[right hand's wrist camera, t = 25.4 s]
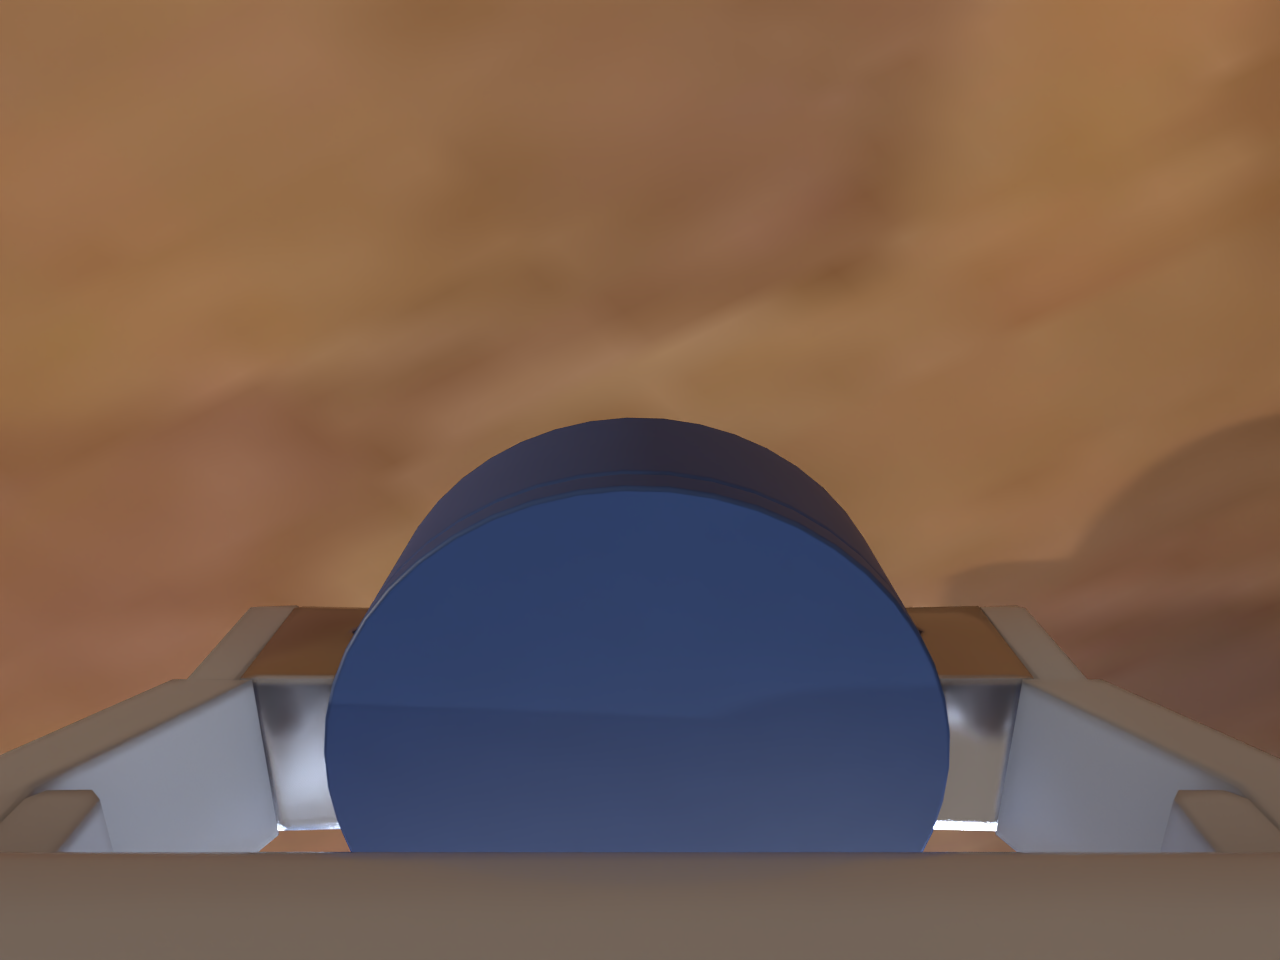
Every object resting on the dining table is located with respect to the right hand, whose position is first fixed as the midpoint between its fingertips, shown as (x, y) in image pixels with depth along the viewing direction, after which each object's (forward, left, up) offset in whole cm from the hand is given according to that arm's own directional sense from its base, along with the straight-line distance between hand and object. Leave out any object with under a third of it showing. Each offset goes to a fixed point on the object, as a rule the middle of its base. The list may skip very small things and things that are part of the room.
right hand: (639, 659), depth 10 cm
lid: (0, 0, +2) cm, 2 cm away
